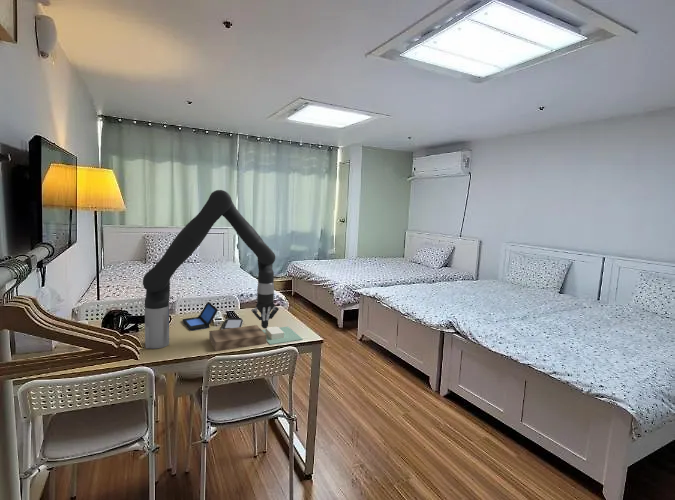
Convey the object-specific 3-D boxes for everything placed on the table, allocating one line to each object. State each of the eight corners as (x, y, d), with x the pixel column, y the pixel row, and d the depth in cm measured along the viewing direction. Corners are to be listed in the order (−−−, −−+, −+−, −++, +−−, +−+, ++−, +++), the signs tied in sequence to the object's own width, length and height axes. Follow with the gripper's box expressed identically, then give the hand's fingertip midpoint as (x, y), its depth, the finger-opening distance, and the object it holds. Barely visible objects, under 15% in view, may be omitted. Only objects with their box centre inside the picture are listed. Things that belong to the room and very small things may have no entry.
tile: (284, 332, 171) (283, 337, 172) (277, 326, 179) (277, 331, 179) (271, 334, 168) (271, 339, 169) (265, 327, 176) (265, 333, 176)
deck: (215, 351, 154) (216, 342, 153) (209, 339, 166) (209, 330, 165) (266, 343, 165) (266, 335, 164) (256, 332, 177) (256, 324, 176)
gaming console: (226, 321, 192) (226, 316, 192) (243, 321, 193) (244, 316, 193) (220, 335, 173) (220, 329, 173) (239, 334, 174) (239, 329, 174)
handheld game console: (181, 321, 187) (181, 304, 186) (208, 318, 195) (208, 301, 194) (190, 331, 175) (190, 312, 173) (218, 327, 182) (218, 309, 181)
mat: (269, 344, 164) (269, 344, 164) (257, 331, 179) (257, 330, 179) (302, 339, 172) (302, 338, 172) (288, 327, 187) (288, 326, 187)
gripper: (253, 295, 162) (253, 332, 164) (282, 292, 169) (281, 328, 171) (249, 290, 168) (248, 327, 171) (276, 288, 175) (275, 323, 177)
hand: (264, 327), depth 171 cm, fingers closed
